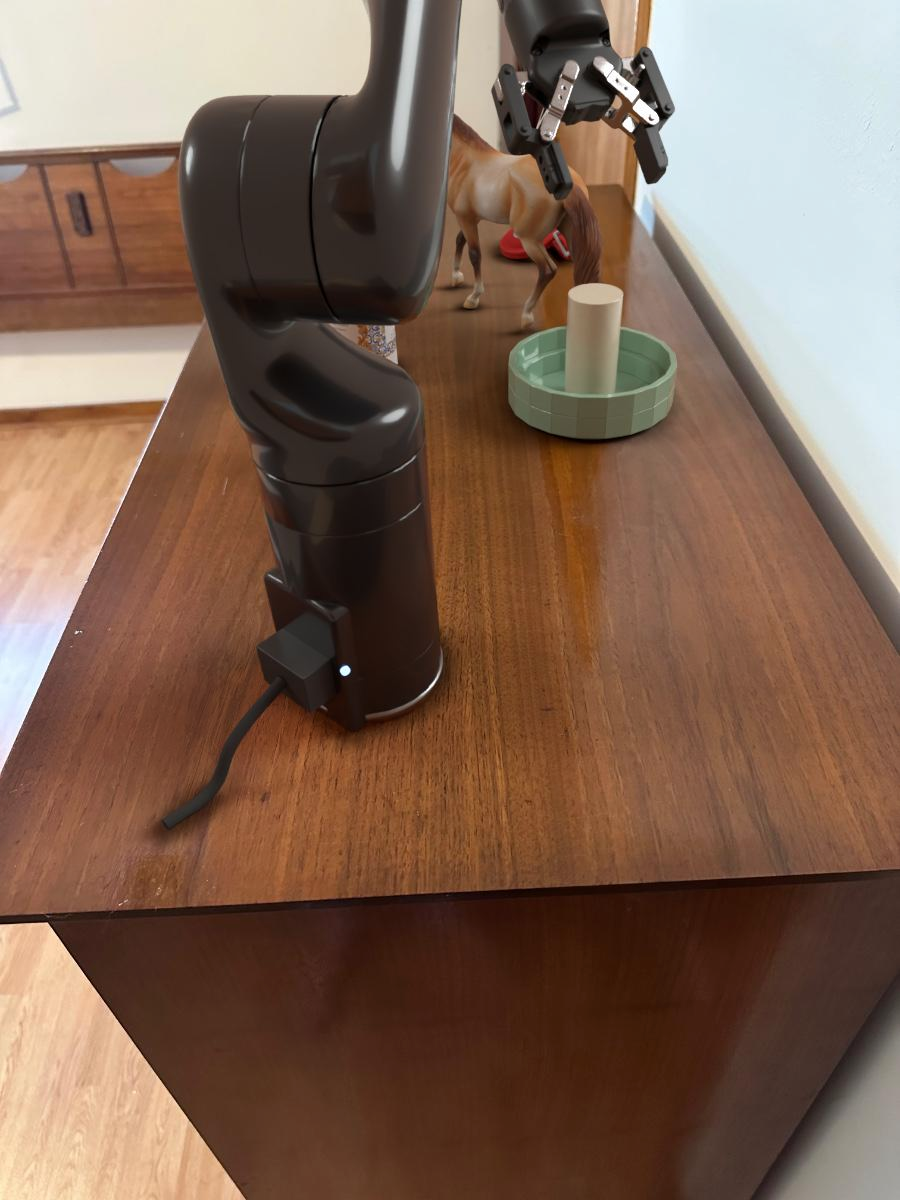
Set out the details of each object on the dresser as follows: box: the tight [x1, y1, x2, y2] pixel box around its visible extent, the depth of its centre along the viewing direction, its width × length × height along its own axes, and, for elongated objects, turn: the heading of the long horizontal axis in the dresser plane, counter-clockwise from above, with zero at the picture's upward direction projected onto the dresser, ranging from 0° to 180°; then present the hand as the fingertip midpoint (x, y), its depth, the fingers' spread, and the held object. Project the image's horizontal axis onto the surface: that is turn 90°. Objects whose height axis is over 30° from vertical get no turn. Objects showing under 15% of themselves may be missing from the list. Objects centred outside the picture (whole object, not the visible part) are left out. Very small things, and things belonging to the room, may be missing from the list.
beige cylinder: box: [564, 283, 624, 395], centre depth 81 cm, size 5×5×10 cm
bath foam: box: [329, 323, 399, 365], centre depth 85 cm, size 7×7×20 cm
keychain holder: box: [499, 227, 572, 261], centre depth 114 cm, size 12×4×10 cm
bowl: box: [507, 325, 678, 440], centre depth 83 cm, size 15×15×4 cm
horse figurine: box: [447, 113, 604, 331], centre depth 94 cm, size 31×8×21 cm, turn 39°
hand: (612, 186), depth 70 cm, fingers open, 8 cm apart
